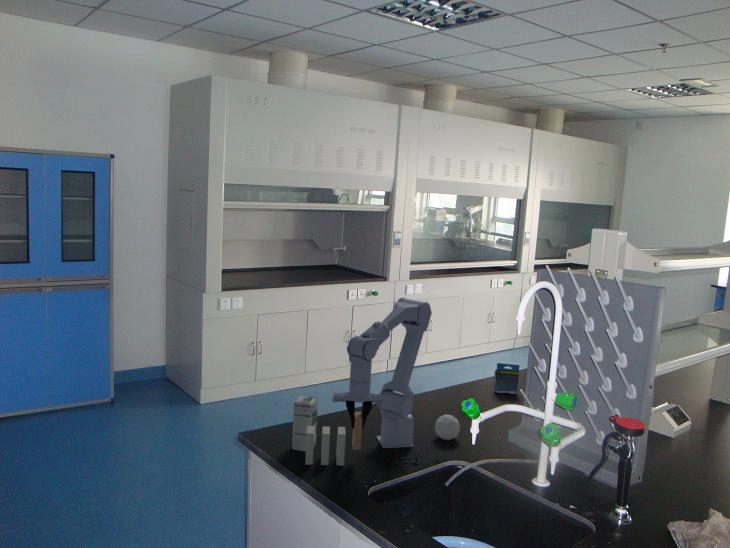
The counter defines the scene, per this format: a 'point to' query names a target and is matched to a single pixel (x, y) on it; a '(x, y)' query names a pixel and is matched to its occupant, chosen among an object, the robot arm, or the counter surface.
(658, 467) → the counter surface
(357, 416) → the tile
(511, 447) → the counter surface
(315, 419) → the syrup box
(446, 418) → the ball
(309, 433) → the tile
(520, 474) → the counter surface
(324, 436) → the tile
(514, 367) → the label tape box
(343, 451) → the tile
